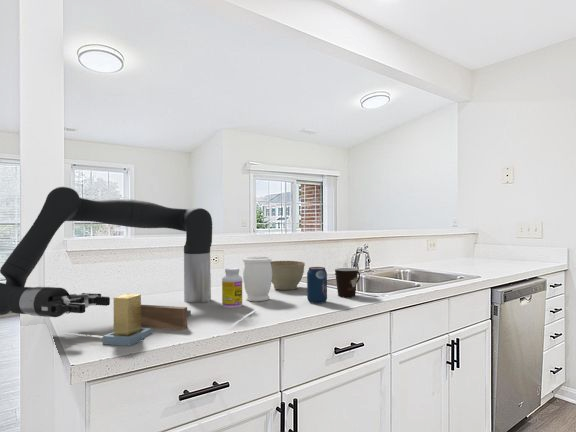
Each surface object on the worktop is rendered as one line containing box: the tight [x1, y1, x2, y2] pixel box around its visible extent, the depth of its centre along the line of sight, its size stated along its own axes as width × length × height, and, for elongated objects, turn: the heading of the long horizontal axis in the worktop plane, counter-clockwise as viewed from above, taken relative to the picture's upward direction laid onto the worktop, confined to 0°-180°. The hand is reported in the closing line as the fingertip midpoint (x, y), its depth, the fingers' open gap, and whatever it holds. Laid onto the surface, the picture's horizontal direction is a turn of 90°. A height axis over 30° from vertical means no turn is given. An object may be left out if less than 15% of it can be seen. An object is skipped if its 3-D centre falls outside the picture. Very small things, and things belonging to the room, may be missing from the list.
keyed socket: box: [102, 327, 153, 347], centre depth 98 cm, size 8×8×2 cm
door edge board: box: [141, 304, 188, 331], centre depth 107 cm, size 2×20×6 cm, turn 75°
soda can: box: [306, 266, 328, 305], centre depth 139 cm, size 7×7×12 cm
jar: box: [242, 256, 273, 302], centre depth 145 cm, size 11×10×15 cm
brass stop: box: [113, 293, 142, 337], centre depth 98 cm, size 5×4×10 cm
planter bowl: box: [270, 260, 306, 291], centre depth 167 cm, size 16×16×11 cm
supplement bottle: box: [221, 267, 243, 309], centre depth 132 cm, size 7×7×13 cm
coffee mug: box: [334, 267, 361, 299], centre depth 150 cm, size 12×9×10 cm
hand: (97, 304), depth 100 cm, fingers open, 8 cm apart
